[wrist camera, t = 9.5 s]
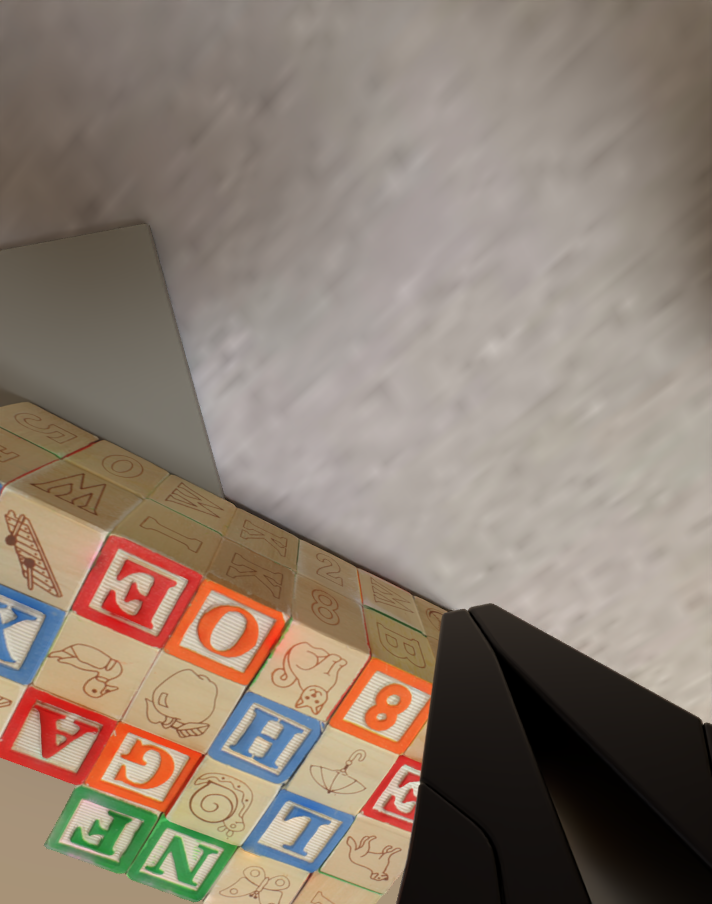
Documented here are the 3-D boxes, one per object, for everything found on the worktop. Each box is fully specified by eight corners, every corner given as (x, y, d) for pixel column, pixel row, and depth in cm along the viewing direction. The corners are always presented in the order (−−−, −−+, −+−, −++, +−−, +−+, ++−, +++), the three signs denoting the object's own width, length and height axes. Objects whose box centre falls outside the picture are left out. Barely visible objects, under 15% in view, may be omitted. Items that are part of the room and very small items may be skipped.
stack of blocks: (29, 394, 18) (-82, 635, 20) (-113, 423, 12) (-250, 761, 14) (467, 620, 22) (336, 801, 25) (522, 727, 16) (342, 954, 19)
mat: (149, 225, 17) (145, 223, 17) (262, 632, 22) (261, 638, 22) (-173, 285, 17) (-184, 284, 17) (10, 684, 22) (4, 690, 22)
